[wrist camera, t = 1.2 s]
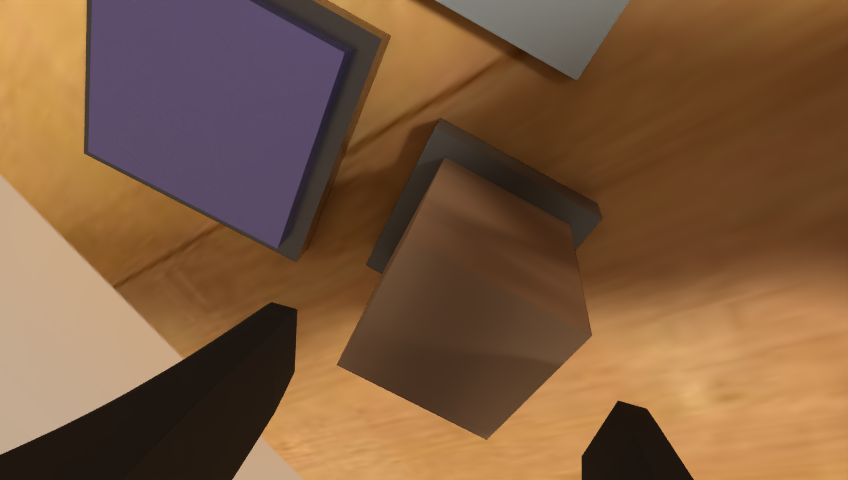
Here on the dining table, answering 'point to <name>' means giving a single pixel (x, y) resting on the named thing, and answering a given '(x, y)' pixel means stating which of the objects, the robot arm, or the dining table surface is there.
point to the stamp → (474, 284)
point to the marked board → (547, 26)
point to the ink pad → (230, 104)
